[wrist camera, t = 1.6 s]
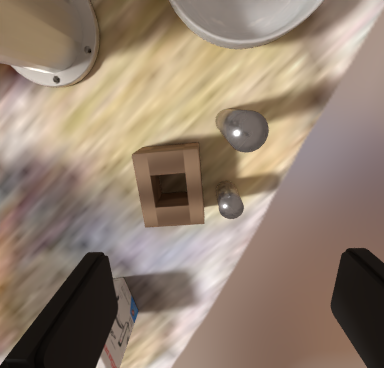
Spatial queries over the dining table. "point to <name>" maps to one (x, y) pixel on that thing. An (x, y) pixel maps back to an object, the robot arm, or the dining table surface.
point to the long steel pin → (243, 129)
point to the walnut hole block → (169, 202)
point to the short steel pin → (229, 200)
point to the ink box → (119, 327)
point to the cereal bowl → (243, 19)
